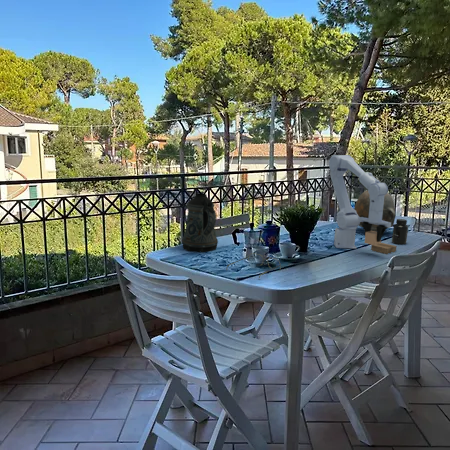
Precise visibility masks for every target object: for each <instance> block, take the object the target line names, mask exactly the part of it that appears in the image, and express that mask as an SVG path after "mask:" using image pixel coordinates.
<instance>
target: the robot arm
mask: <svg viewBox="0 0 450 450" xmlns="http://www.w3.org/2000/svg"><path fill="white" fill-rule="evenodd" d="M357 163H358V162H356V161H355V158H353V157H352V156H351V155H349V154H346V155H345V154H343V155H342V154H341V155H340V154H338V155H337V154H333V155H332V156H331V157H330V158H329V161H328V166H329V170H330V172H329V173H330V178H331V183H332V186H333V190H334V194H335V198H336V201H337V204H338V207H339V210H338V212H337V213H336V218H337V220H336V222H337V225H338V227H336V228H335V230H334V240H333V245H334V246H335V248H336V249H353V250H355V249H357V246H356V245H355V242H356V233H357V232H356V230H357V228H358V227H359V224H360V222H363V224H362V227H361V228H362V229H363V232H364V234H365V233H366V232H368V231H371V227H372V224H375V225H379V226H377V227H376V228H377V231H376V232H377V242H380V241H381V242H382V238H383V236H384V234H385V232H386V231H387V229H388V228H387V227H390V228H392V227H391V223H390V222H386V221H383V220H382V215H383V205H384V196H385V195H386V194H387V193H389V192H388V191H389V187H388V185H387V183H386V182H381V181H380V182H379V180H380V179H377V178H376V177H375V176H374V175H373V173H372V172H369V171H366V172H365V171H364V170H363V169H362V167H360V165H358V164H357ZM347 171H350V172H351V173H352V174H354V175H355V176H356V177H358V179H359V180H358V181H359V183H360V184H362V186H364V188H365V189H367V190H368V193H369V195H370V207H369V217H368V218H364V217H359V216H358V214H357V212H356V210H355V209H354V208H353V207H352V204H351V201H350V197H349V194H348V191H347V186H346V183H345V179H344V175H345V174H346V173H347ZM377 223H378V224H377Z"/></svg>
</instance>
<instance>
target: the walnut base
mask: <svg viewBox="0 0 450 450" xmlns="http://www.w3.org/2000/svg"><path fill="white" fill-rule="evenodd" d="M370 248H371V249H370V251H371V250H372V251H371V252H375V251H376V253H381V254H383V255H389V254H388V253H390V254H392V253H391V252H393V253H395V251H396V252H397V245H392V244H389V243H385V242H381V244H378V245H371V246H370Z"/></svg>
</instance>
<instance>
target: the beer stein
mask: <svg viewBox="0 0 450 450" xmlns="http://www.w3.org/2000/svg"><path fill="white" fill-rule="evenodd" d="M186 208H187V216H186V217H187V218H186V224H185V231H184V235H183V237H182V239H181V245H182V247H183V250H185V251H186V252H187V251H188V252H192V253H207V252H208V253H209V252H213V251H215V250H217V247H218V244H219V243H218V242H219V241H218V240H219V239H218V237H217V235H216V228H215V225H216V221H217V212H216V211H215V204H214V202H213V201H212V200H211V199H210V198H209V197H208V196H207V194H205V193H196V195H194V197H193V198H192V199H190V200H189V201H188V202H187V203H186Z"/></svg>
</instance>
